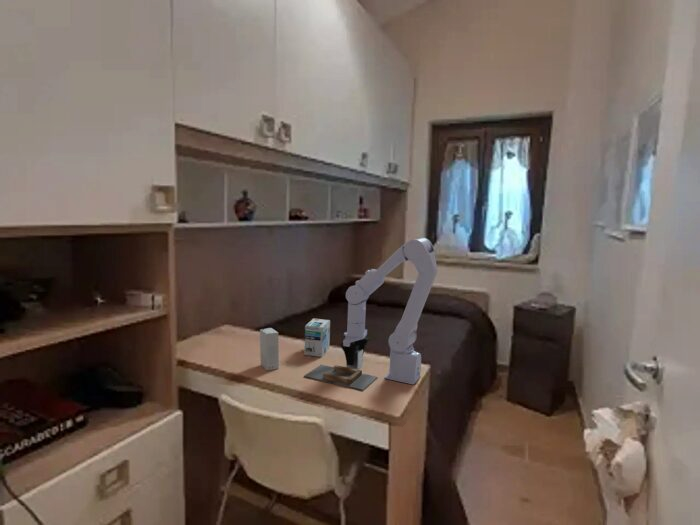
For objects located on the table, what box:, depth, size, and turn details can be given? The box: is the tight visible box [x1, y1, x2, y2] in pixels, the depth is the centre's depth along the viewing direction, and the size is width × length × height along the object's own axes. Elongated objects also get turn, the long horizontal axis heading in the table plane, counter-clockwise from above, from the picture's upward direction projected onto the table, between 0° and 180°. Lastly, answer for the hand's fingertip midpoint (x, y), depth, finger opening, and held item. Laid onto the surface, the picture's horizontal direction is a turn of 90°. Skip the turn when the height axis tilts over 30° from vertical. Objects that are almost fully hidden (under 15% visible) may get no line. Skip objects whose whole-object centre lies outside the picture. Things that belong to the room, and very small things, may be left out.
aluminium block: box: [345, 348, 364, 370], centre depth 149 cm, size 4×4×6 cm
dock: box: [303, 364, 378, 392], centre depth 140 cm, size 20×11×2 cm, turn 65°
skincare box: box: [259, 327, 280, 371], centre depth 146 cm, size 6×4×12 cm
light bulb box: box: [303, 318, 331, 358], centre depth 162 cm, size 11×7×11 cm, turn 168°
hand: (354, 361), depth 149 cm, fingers open, 6 cm apart
